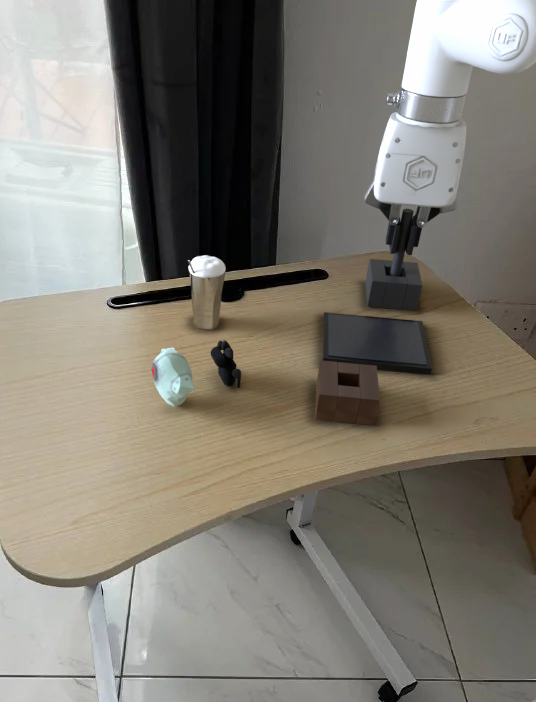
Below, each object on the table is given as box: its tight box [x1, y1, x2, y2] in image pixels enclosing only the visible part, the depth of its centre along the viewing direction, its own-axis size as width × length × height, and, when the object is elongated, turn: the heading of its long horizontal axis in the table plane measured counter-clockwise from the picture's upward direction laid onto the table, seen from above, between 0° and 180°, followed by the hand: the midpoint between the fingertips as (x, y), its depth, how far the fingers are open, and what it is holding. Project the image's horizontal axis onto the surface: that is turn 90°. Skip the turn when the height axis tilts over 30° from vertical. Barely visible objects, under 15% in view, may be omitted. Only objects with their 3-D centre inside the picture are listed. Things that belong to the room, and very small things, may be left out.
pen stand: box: [314, 359, 381, 426], centre depth 73 cm, size 6×6×4 cm
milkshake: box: [187, 254, 227, 331], centre depth 83 cm, size 5×5×10 cm
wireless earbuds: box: [210, 339, 242, 390], centre depth 75 cm, size 7×2×5 cm, turn 19°
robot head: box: [151, 347, 196, 407], centre depth 71 cm, size 8×4×7 cm, turn 20°
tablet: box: [322, 311, 433, 375], centre depth 84 cm, size 13×11×1 cm
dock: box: [364, 258, 424, 312], centre depth 93 cm, size 7×7×4 cm
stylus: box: [390, 208, 415, 277], centre depth 90 cm, size 1×1×12 cm
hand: (400, 249), depth 89 cm, fingers closed on stylus, 1 cm apart
